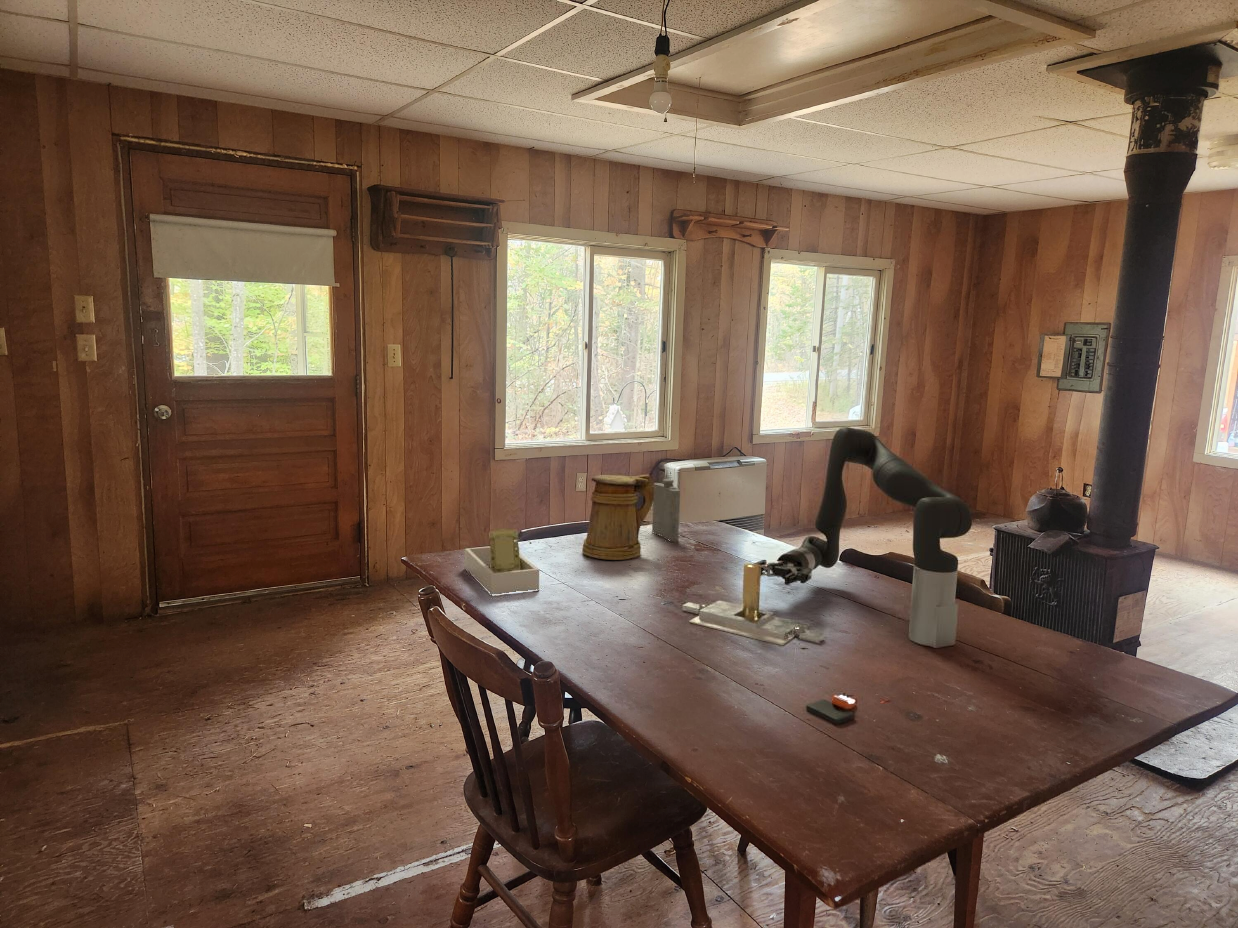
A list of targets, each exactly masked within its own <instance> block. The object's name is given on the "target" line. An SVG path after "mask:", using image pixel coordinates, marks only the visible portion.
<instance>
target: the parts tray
mask: <svg viewBox="0 0 1238 928" xmlns="http://www.w3.org/2000/svg"><path fill="white" fill-rule="evenodd" d="M519 556H520V570H519V571H508V572H498V573H494V572H493V571H492V569H491V568H490V567H487V566H491V554H490V546H479V547H469V548H468V547H467V548H464V569H465V568H466V569H467V570H468V571H469V572H471V574H472V575H474V577H475V578H476V579H477V580H478V581H479V582H480V583H481V584H482V585H483V586H484V587H485V588H486V589H487V590H488V591H489V592H490V594H491V595H492V594H502V593H509V592H516V591H528V590H536V589H537V590H538V589H539V590H540V569H539V568H538V567H537V566H535V564H533V563H532V562H530V560H528V559H527V558H525V557H524V556H523V555H522V554H520V553H519ZM516 558H517V557H516ZM516 567H517V565H516ZM466 569H465V570H466ZM467 570H466V571H467ZM468 571H467V572H468ZM469 572H468V573H469Z"/></svg>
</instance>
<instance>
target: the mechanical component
mask: <svg viewBox="0 0 1238 928" xmlns="http://www.w3.org/2000/svg"><path fill="white" fill-rule="evenodd" d="M518 535H519V533H518V529H515V528H514V529H507V528H500V529H498V530H490V531H489V532H488V539H489V547H490V554H491V567H490V569H491V570H492V571H493V572H494V573H498V572H508V571H519V570H520V556H519V554H520V547H519V536H518ZM515 540H516V541H515ZM492 542H493V543H492ZM516 557H517V558H516ZM516 565H517V567H516Z"/></svg>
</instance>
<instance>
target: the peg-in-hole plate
mask: <svg viewBox="0 0 1238 928" xmlns="http://www.w3.org/2000/svg"><path fill="white" fill-rule="evenodd" d="M682 612H687V613H692V614H696V615H698V616H695V617H694V618H692V619H689V622H688V623H691V624H694V625H698V626H701V627H702V626H703V627H706V628H710V629H714V630H719V631H722V632H726V633H731V634H735V635H739V636H743V637H747V638H751V639H755V640H758V641H762V642H763V641H764V642H767V643H770V644H775V645H779V646H782V647H783V646H784V645H785V644H787V643H788V642H789V641H791V640H793V639H794V638H797V639H800V640H803V641H808V642H812V643H814V644H815V643H816V644H819V643H820V642H822V641H823V640H824V636H825V634H824V633H823V632H818V631H814V630H811V629H809V628H810V627H811V624H809V623H805V622H800V621H798V620H797V621H795V620H792V619H787V618H782V617H779V616H775V612H772V611H769V610H763V609H760V608H759V618H758V620H756V621H755V620H751V619H747V618H743V617H742V604H739V603H738V604H737V603H733V602H728V601H725V600H724V601H723V600H717V601H715V602H713V603H710V604H708V603H701V604H698V603H694V602H686V603H684V604H683V605H682Z"/></svg>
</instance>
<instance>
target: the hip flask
mask: <svg viewBox="0 0 1238 928" xmlns="http://www.w3.org/2000/svg"><path fill="white" fill-rule="evenodd" d="M662 481H663V482H661V483H660V482H654V483H653V486H654V499H653V504H652V522H651V523H652V525H651V527H652V528H651V529H652V531H651V532H654V533H653V534H655V533H656V534H655V535H657V534H660V535H662V536H664V537H666V538H667V539H669V540H670V541H678V542H679V534H680V533H679V529H680V527H679V526H680V499H681V490H680V489H679V488H677V487H675V486H674V482H675V481H674V479H672V478H671V479H668V478H667V479H662ZM660 535H659V536H660ZM662 536H661V537H662ZM664 537H663V538H664ZM666 538H665V539H666ZM667 539H666V540H667ZM669 540H668V541H669ZM670 541H669V542H670Z"/></svg>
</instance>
